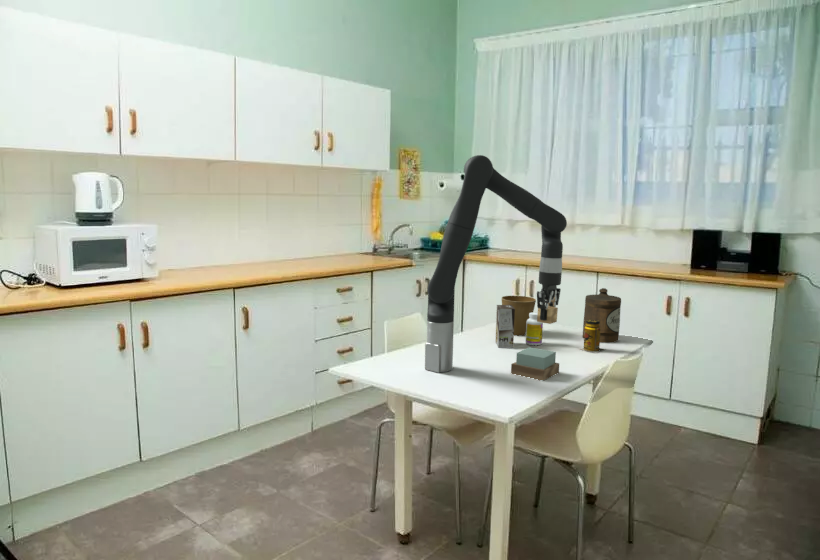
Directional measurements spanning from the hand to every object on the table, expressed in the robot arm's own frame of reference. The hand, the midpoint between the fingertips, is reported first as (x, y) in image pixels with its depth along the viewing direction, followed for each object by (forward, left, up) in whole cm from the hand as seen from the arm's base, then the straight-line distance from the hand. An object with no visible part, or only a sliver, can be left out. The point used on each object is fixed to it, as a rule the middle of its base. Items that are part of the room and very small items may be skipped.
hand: (546, 318), depth 207 cm
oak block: (0, 0, -1) cm, 1 cm away
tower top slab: (-5, +1, -15) cm, 16 cm away
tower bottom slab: (-5, +1, -19) cm, 20 cm away
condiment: (+39, -1, -19) cm, 43 cm away
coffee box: (+21, +29, -19) cm, 40 cm away
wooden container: (+59, +4, -19) cm, 62 cm away
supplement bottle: (+31, +21, -19) cm, 42 cm away
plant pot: (+42, +35, -19) cm, 57 cm away
